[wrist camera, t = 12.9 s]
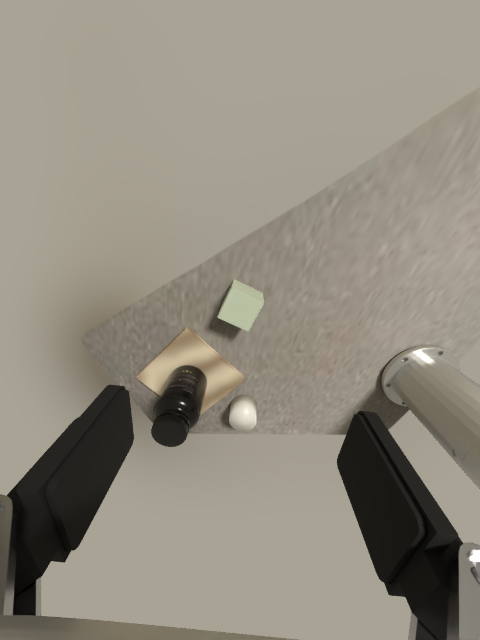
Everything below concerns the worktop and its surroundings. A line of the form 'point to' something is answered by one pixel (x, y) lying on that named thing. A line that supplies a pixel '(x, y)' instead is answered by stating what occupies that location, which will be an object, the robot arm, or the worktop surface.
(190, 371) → the supplement bottle
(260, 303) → the sage block
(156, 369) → the birch board
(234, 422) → the white rounded lump
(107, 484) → the robot arm
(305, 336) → the worktop surface
